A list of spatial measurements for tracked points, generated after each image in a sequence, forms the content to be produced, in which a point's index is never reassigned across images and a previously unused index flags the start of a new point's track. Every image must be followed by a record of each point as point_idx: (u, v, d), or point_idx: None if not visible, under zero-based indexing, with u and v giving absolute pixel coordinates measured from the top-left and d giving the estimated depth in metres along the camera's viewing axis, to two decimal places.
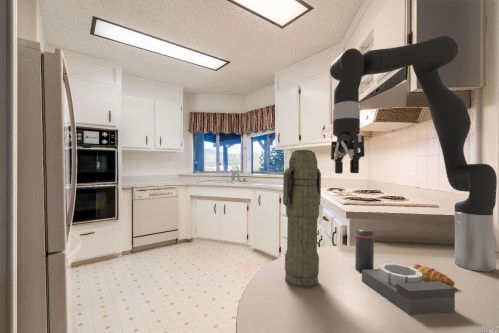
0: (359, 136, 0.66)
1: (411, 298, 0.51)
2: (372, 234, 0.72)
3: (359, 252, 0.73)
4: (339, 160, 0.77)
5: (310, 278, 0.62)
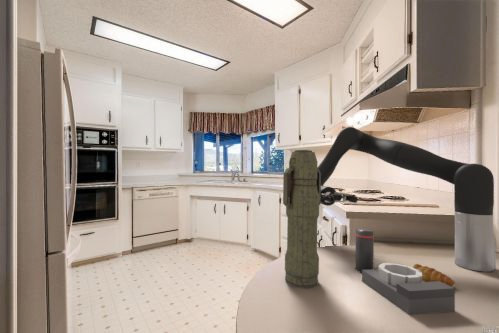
0: None
1: (411, 298, 0.51)
2: (372, 234, 0.72)
3: (359, 252, 0.73)
4: (349, 198, 0.90)
5: (310, 278, 0.62)
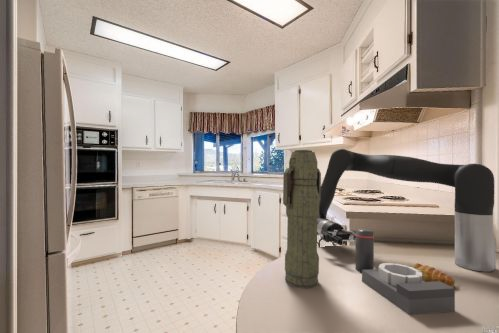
0: (320, 234, 0.89)
1: (411, 298, 0.51)
2: (372, 234, 0.72)
3: (359, 252, 0.73)
4: None
5: (310, 278, 0.62)
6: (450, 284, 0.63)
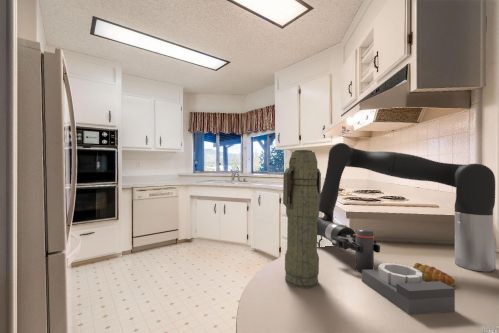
0: (332, 241, 0.80)
1: (411, 298, 0.51)
2: (372, 234, 0.72)
3: None
4: None
5: (310, 278, 0.62)
6: (450, 283, 0.64)
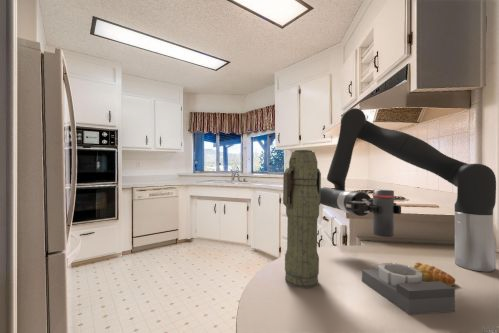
0: (346, 205, 0.73)
1: (411, 298, 0.51)
2: (392, 193, 0.65)
3: None
4: None
5: (310, 278, 0.62)
6: (451, 282, 0.64)
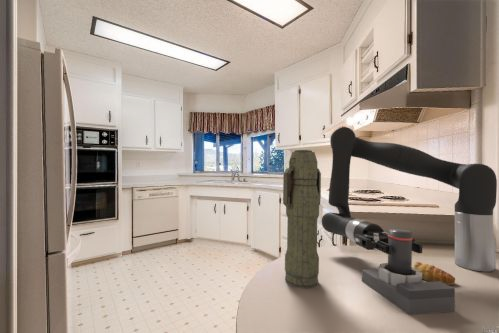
0: (355, 239, 0.67)
1: (411, 298, 0.51)
2: (410, 236, 0.59)
3: (394, 257, 0.59)
4: None
5: (310, 278, 0.62)
6: (451, 281, 0.65)
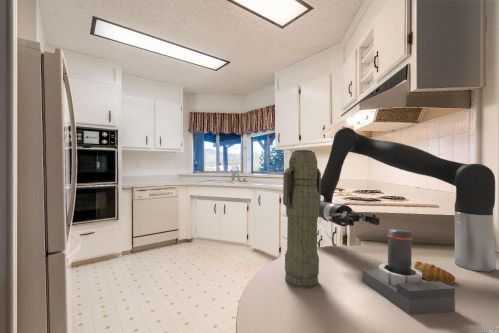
0: (329, 217, 0.83)
1: (411, 298, 0.51)
2: (410, 235, 0.59)
3: (394, 257, 0.59)
4: (369, 219, 0.79)
5: (310, 278, 0.62)
6: (451, 280, 0.65)
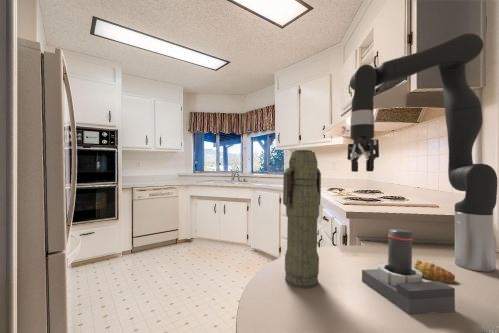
0: (374, 140, 0.78)
1: (411, 298, 0.51)
2: (411, 236, 0.59)
3: (394, 257, 0.59)
4: (355, 160, 0.89)
5: (310, 278, 0.62)
6: (451, 279, 0.66)
